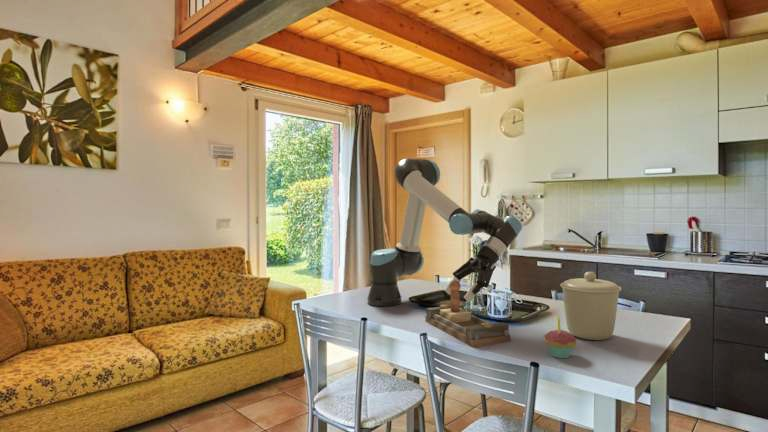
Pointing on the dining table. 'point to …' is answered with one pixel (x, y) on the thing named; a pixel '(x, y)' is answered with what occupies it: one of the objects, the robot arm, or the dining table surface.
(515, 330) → the dining table surface
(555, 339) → the cupcake
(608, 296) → the canister
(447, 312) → the carriage
